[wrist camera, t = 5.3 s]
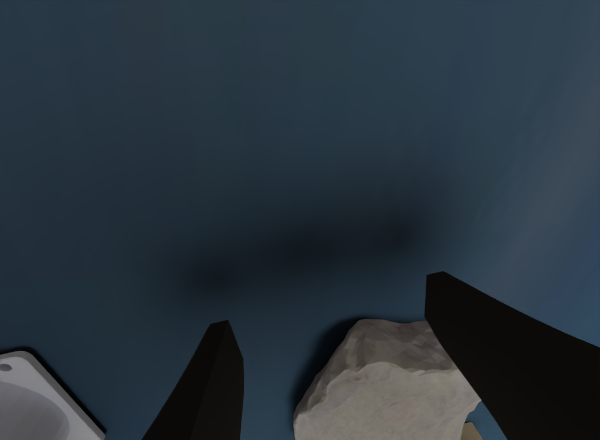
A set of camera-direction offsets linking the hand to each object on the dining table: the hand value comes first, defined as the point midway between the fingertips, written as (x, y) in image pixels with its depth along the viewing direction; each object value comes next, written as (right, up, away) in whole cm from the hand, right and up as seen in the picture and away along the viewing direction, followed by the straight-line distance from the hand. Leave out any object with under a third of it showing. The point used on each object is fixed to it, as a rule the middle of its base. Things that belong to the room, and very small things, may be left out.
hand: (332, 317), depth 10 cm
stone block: (+3, -7, +8) cm, 11 cm away
